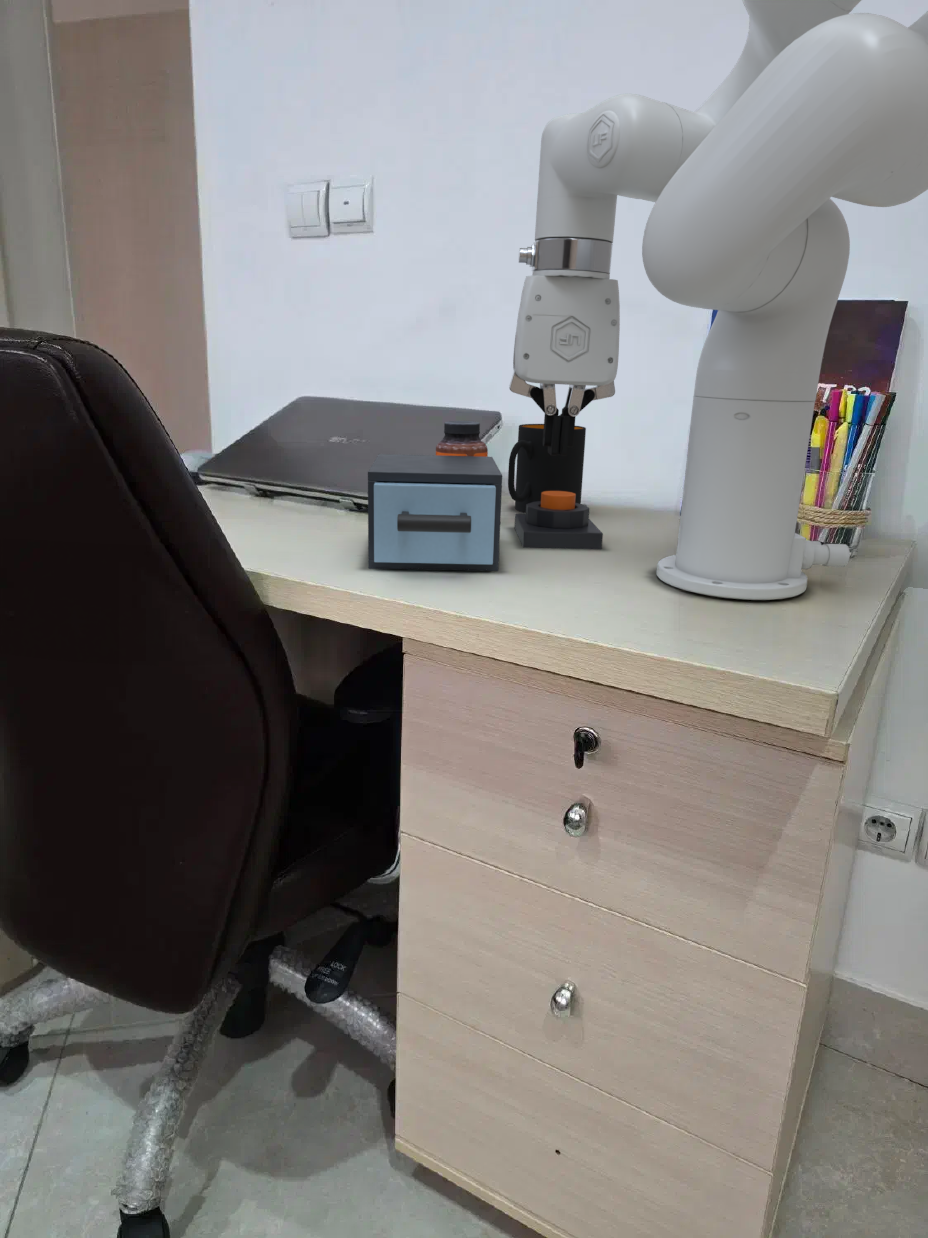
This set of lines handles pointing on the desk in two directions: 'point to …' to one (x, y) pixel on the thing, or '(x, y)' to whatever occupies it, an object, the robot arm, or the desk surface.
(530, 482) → the mug
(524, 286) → the robot arm
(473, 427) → the supplement bottle
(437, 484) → the light blue drawer
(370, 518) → the drawer cabinet
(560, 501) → the release button
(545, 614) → the desk surface
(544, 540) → the panel
